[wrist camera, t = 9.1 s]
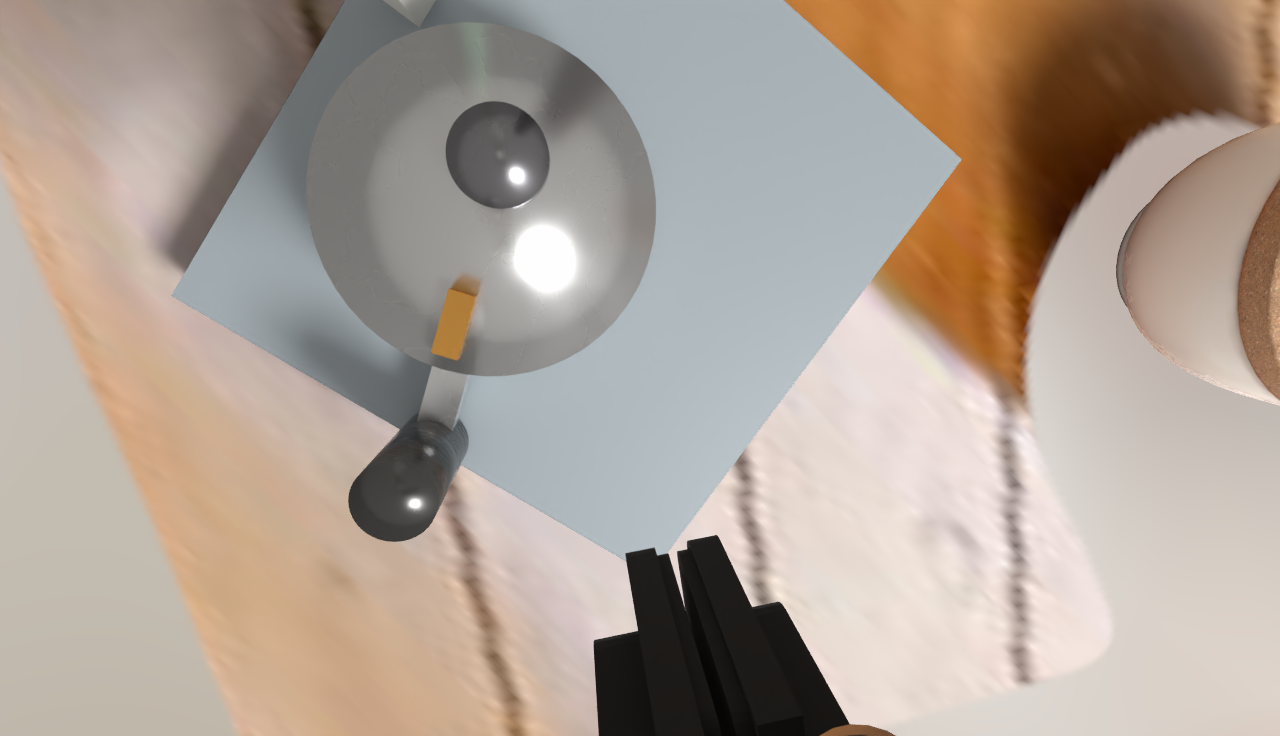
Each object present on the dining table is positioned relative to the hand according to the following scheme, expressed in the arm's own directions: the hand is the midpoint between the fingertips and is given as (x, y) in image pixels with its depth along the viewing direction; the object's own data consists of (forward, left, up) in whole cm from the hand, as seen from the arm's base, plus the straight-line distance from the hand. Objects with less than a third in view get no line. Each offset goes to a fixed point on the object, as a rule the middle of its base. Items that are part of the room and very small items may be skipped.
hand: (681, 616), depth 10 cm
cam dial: (-7, +1, -12) cm, 14 cm away
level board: (-5, +5, -15) cm, 16 cm away
